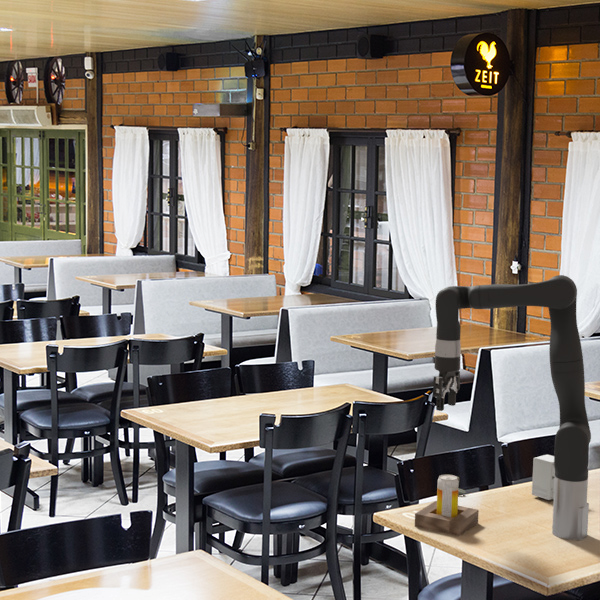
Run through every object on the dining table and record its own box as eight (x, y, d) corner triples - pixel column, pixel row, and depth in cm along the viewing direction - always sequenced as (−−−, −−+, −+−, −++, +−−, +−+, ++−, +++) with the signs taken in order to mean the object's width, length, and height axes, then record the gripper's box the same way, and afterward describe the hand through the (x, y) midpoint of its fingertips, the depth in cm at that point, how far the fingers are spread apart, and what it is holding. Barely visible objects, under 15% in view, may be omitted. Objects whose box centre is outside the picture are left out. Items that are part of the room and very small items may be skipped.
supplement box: (549, 500, 311) (551, 462, 309) (531, 494, 316) (532, 457, 315) (563, 496, 315) (565, 458, 314) (544, 490, 321) (546, 453, 319)
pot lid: (463, 499, 312) (463, 484, 311) (429, 492, 318) (429, 478, 317) (478, 490, 321) (478, 475, 321) (444, 483, 328) (445, 469, 327)
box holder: (478, 524, 288) (478, 509, 287) (459, 538, 276) (459, 523, 275) (434, 515, 295) (435, 501, 295) (414, 528, 283) (415, 513, 283)
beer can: (456, 523, 288) (457, 474, 286) (457, 530, 282) (459, 480, 280) (435, 522, 289) (437, 473, 287) (436, 529, 283) (438, 479, 281)
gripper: (449, 358, 279) (447, 414, 281) (468, 352, 291) (467, 405, 292) (425, 356, 283) (424, 410, 285) (445, 349, 295) (444, 401, 296)
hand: (445, 407), depth 288 cm, fingers open, 8 cm apart
